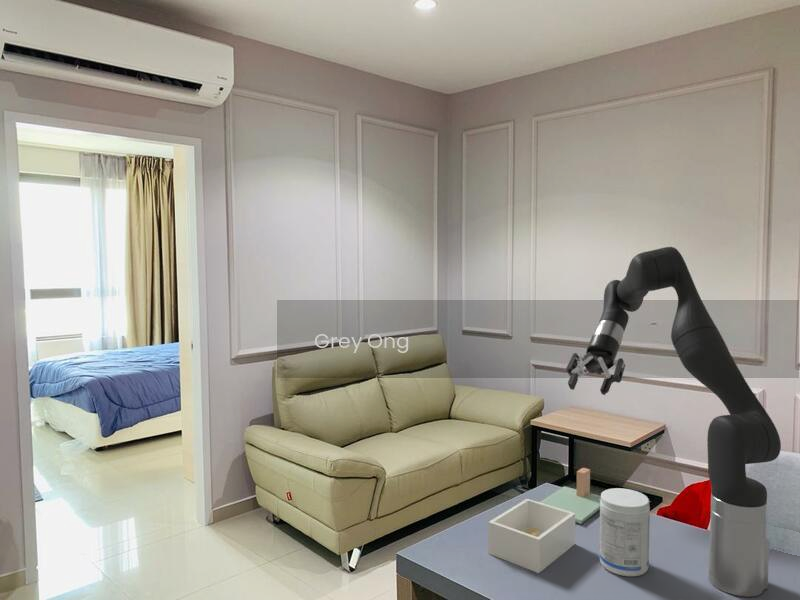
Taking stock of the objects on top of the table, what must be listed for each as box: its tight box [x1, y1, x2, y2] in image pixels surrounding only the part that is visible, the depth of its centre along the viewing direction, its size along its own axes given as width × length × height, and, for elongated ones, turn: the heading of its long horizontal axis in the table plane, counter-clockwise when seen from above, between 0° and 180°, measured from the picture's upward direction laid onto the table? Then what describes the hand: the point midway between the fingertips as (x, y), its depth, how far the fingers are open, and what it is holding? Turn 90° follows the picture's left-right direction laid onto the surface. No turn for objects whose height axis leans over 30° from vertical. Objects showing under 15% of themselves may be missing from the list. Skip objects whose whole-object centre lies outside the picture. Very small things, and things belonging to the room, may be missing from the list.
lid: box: [539, 467, 601, 524], centre depth 150 cm, size 16×12×8 cm
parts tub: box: [488, 498, 576, 574], centre depth 129 cm, size 16×12×7 cm
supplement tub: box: [599, 487, 651, 577], centre depth 121 cm, size 10×10×15 cm
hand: (586, 390), depth 153 cm, fingers open, 8 cm apart
